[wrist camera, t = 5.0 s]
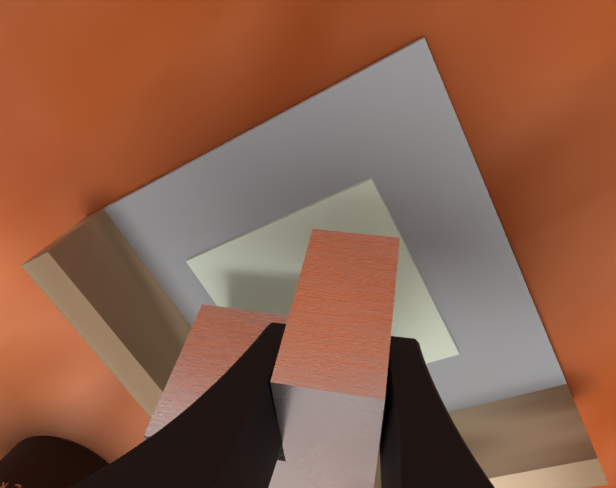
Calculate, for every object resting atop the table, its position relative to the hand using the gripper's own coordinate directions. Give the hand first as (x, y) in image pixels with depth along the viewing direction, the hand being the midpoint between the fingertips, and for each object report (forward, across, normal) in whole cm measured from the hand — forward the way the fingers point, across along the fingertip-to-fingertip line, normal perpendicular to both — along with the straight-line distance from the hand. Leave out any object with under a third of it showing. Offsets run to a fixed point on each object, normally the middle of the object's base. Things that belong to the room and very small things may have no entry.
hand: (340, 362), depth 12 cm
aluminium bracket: (+3, +2, 0) cm, 3 cm away
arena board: (+6, +1, +3) cm, 6 cm away
